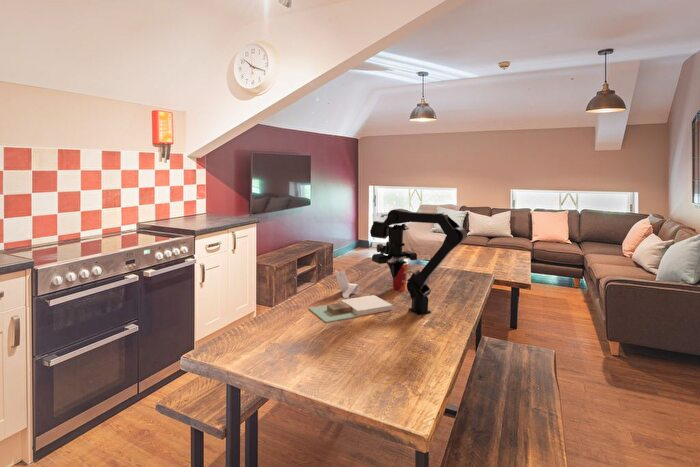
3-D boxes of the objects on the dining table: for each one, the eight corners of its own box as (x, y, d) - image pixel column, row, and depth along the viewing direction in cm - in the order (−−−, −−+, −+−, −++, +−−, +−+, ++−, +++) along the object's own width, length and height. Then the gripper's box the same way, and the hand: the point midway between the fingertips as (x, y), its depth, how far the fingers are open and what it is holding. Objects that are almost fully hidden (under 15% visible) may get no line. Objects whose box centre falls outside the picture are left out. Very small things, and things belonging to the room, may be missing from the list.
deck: (392, 309, 165) (392, 305, 164) (357, 316, 157) (357, 311, 157) (373, 299, 177) (373, 295, 177) (340, 304, 169) (340, 300, 169)
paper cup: (408, 291, 189) (409, 262, 187) (391, 291, 189) (392, 261, 187) (406, 286, 197) (407, 258, 194) (390, 286, 197) (391, 257, 194)
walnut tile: (345, 307, 166) (345, 302, 165) (352, 311, 160) (352, 306, 160) (327, 309, 162) (327, 305, 161) (333, 314, 157) (333, 309, 156)
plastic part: (359, 292, 186) (360, 267, 184) (348, 298, 178) (349, 272, 176) (344, 290, 190) (345, 265, 188) (333, 295, 181) (334, 269, 179)
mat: (359, 316, 156) (359, 315, 156) (325, 322, 150) (325, 321, 150) (339, 304, 170) (339, 303, 170) (308, 308, 163) (308, 308, 163)
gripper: (402, 235, 177) (401, 270, 179) (365, 238, 168) (364, 275, 170) (418, 239, 167) (416, 277, 170) (380, 243, 158) (378, 282, 161)
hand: (393, 277), depth 168 cm, fingers closed
